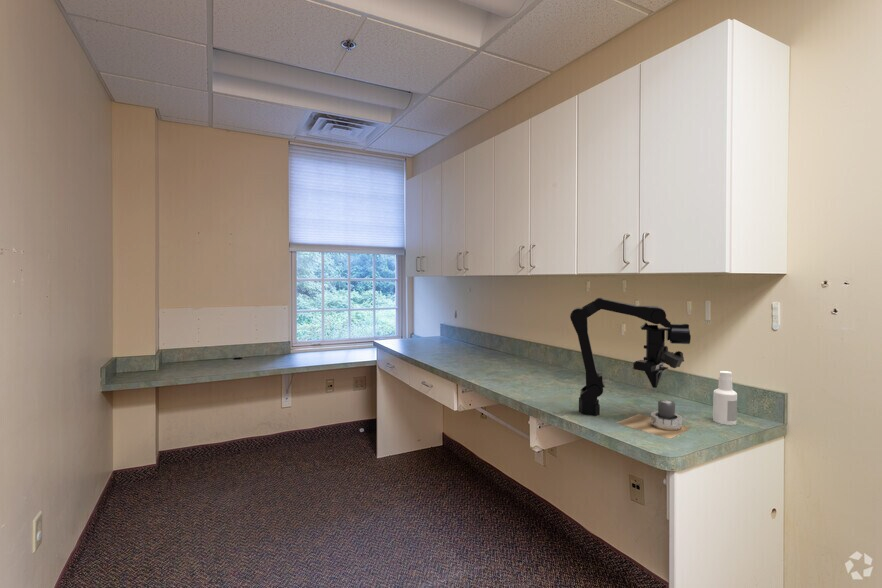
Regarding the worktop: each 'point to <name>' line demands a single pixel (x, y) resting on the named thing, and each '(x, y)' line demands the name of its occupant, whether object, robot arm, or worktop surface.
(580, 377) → the worktop surface
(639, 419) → the board
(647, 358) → the robot arm
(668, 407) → the cap
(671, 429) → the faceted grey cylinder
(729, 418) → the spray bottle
